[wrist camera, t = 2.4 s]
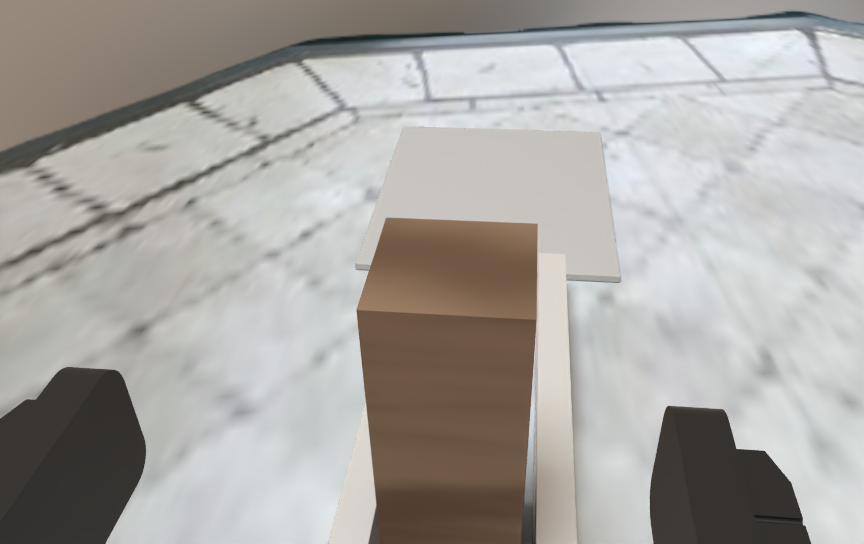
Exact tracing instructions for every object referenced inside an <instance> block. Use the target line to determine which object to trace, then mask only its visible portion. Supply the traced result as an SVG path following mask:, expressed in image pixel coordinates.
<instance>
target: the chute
mask: <svg viewBox="0 0 864 544" xmlns="http://www.w3.org/2000/svg"><path fill="white" fill-rule="evenodd" d="M328 544H380V535H379V525H378V515H377V505H376V496H375V486H374V476H373V466H372V456H371V447H370V437H369V427H368V417H367V407H366V401H365V404H364V408H363V412H362V416H361V420H360V423H359V427H358V431H357V435H356V438H355V442H354V446H353V450H352V454H351V457H350V461H349V465H348V469H347V473H346V476H345V480H344V484H343V488H342V492H341V495H340V499H339V503H338V507H337V511H336V514H335V518H334V522H333V526H332V530H331V533H330V537H329V541H328ZM533 544H577V527H576V503H575V479H574V454H573V430H572V405H571V381H570V357H569V332H568V308H567V284H566V259H565V254H552V253H539V258H538V272H537V321H536V361H535V441H534V520H533Z"/></svg>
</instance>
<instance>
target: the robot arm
mask: <svg viewBox="0 0 864 544" xmlns="http://www.w3.org/2000/svg"><path fill="white" fill-rule="evenodd" d="M145 457H146V445H145V440H144V436H143V433H142V431H141V428H140V425H139V422H138V419H137V416H136V413H135V410H134V407H133V405H132V402H131V399H130V396H129V393H128V390H127V387H126V384H125V381H124V379H123V377H122V375H121V374H120V373H119V372H118V371H116V370H107V369H90V368H74V367H66V368H63V369H61V370H60V371H59V372H57V373H56V375H55V376H54V377H53V378H52V380H51V381H50V382H49V383H48V385H47V386H46V387H45V389H44V390H43V391H42V393H41V394H40V395H39V397H38V398H37V399H36V400H28V399H27V400H25V401H24V402H22V403H21V404H20V405H18V406H17V407H16V408H14V409H13V410H12V411H10V412H9V413H8V414H6V415H5V416H3V417H2V418H1V419H0V544H105V543H106V541H107V539H108V537H109V536H110V534H111V532H112V530H113V528H114V526H115V525H116V523H117V521H118V519H119V517H120V515H121V514H122V512H123V510H124V508H125V506H126V504H127V503H128V501H129V499H130V497H131V495H132V493H133V492H134V490H135V488H136V486H137V484H138V482H139V480H140V478H141V475H142V472H143V469H144V464H145ZM650 518H651V527H652V535H653V542H654V544H811V542H810V539H809V536H808V533H807V530H806V527H805V526H803V522H802V521H803V518H802V514H801V511H800V508H799V505H798V502H797V499H796V496H795V493H794V490H793V487H792V484H791V482H790V481H789V480H788V479H787V477H786V476H785V475H784V474H783V473H782V471H781V470H780V469H779V468H778V466H777V465H776V464H775V463H774V462H773V460H772V459H771V458H770V457H769V456H768V454H767V453H766V452H765V451H757V450H743V449H736V446H735V442H734V438H733V435H732V431H731V427H730V423H729V420H728V417H727V414H726V412H725V411H724V410H723V409H709V408H693V407H677V406H668V407H667V408H666V410H665V413H664V417H663V422H662V427H661V432H660V437H659V442H658V448H657V453H656V458H655V463H654V468H653V473H652V478H651V487H650Z"/></svg>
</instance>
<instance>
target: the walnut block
mask: <svg viewBox="0 0 864 544" xmlns="http://www.w3.org/2000/svg"><path fill="white" fill-rule="evenodd" d="M537 241H538V224H533V223H509V222H484V221H460V220H436V219H411V218H387V217H386V219H385V223H384V226H383V229H382V232H381V235H380V238H379V241H378V244H377V248H376V251H375V254H374V257H373V260H372V263H371V266H370V270H369V273H368V276H367V279H366V282H365V285H364V288H363V291H362V295H361V298H360V301H359V304H358V307H357V319H358V329H359V339H360V348H361V358H362V368H363V378H364V388H365V397H366V407H367V417H368V427H369V437H370V447H371V456H372V466H373V476H374V486H375V496H376V505H377V515H378V525H379V535H380V544H521V536H522V522H523V507H524V493H525V479H526V464H527V450H528V436H529V421H530V407H531V393H532V378H533V364H534V350H535V335H536V321H537Z"/></svg>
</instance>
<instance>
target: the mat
mask: <svg viewBox="0 0 864 544" xmlns="http://www.w3.org/2000/svg"><path fill="white" fill-rule="evenodd" d="M386 217H387V218H411V219H436V220H460V221H484V222H509V223H533V224H538V241H537V272H538V258H539V253H552V254H565V259H566V280H584V281H604V282H620V271H619V264H618V257H617V249H616V242H615V235H614V228H613V221H612V213H611V206H610V199H609V192H608V185H607V177H606V170H605V163H604V156H603V149H602V141H601V134H600V132H576V131H541V130H506V129H471V128H435V127H403V128H402V131H401V134H400V137H399V140H398V143H397V146H396V148H395V151H394V154H393V157H392V160H391V163H390V166H389V169H388V171H387V174H386V177H385V180H384V183H383V186H382V189H381V191H380V194H379V197H378V200H377V203H376V206H375V209H374V211H373V214H372V217H371V220H370V223H369V226H368V229H367V232H366V234H365V237H364V240H363V243H362V246H361V249H360V252H359V254H358V257H357V260H356V263H355V267H356V269H360V270H370V266H371V263H372V260H373V257H374V254H375V251H376V248H377V244H378V241H379V238H380V235H381V232H382V229H383V226H384V223H385V219H386Z"/></svg>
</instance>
